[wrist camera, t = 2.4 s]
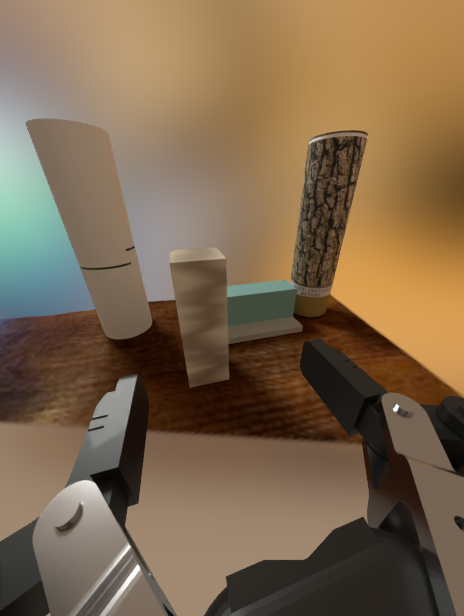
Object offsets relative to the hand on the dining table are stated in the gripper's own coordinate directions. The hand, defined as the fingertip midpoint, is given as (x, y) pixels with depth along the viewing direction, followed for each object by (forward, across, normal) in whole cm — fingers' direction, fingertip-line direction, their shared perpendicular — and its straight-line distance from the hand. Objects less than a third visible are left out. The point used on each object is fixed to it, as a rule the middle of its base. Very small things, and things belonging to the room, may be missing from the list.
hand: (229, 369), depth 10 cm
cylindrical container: (+24, +11, +11) cm, 29 cm away
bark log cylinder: (+22, -20, +11) cm, 31 cm away
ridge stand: (+20, -8, +11) cm, 24 cm away
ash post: (+12, 0, +11) cm, 16 cm away
